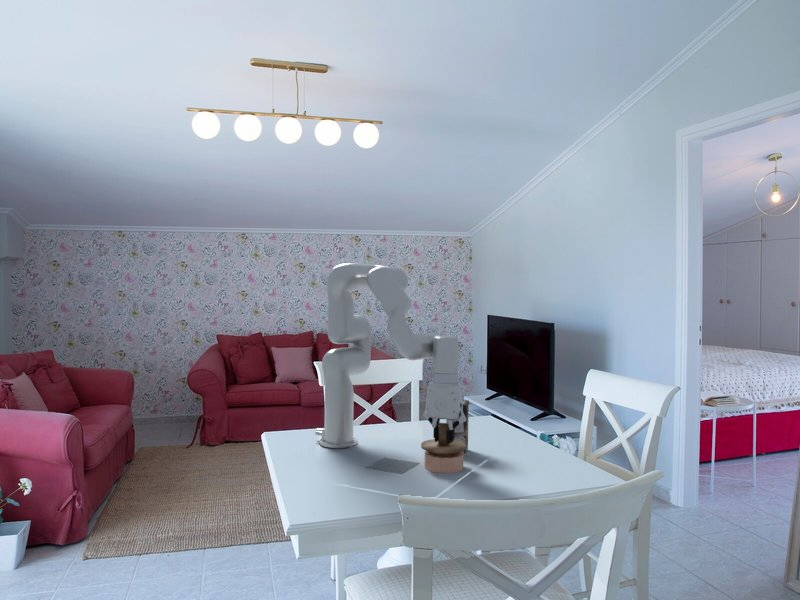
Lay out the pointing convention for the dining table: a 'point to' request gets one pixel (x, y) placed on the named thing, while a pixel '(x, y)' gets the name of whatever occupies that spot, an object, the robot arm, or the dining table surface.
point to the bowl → (443, 462)
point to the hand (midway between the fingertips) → (443, 441)
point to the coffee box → (462, 427)
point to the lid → (443, 442)
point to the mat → (392, 465)
